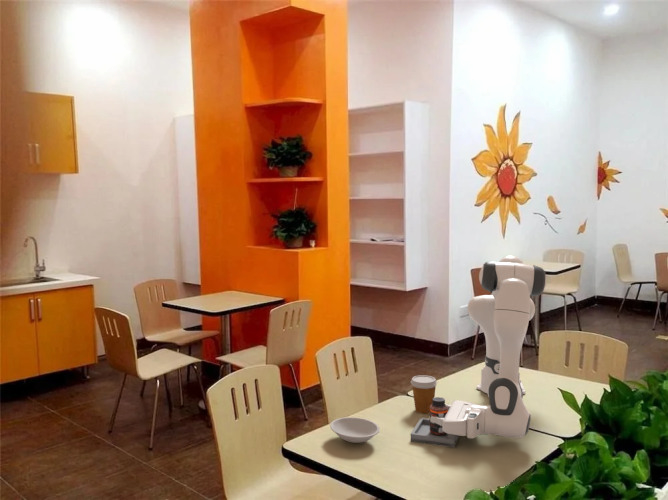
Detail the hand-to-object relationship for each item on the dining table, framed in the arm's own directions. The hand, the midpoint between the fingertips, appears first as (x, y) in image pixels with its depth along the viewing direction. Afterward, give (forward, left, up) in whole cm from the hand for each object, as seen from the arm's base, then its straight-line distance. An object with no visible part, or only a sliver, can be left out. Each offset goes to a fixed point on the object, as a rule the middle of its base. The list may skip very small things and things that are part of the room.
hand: (433, 413), depth 187 cm
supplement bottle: (0, +2, -7) cm, 7 cm away
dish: (+13, -23, -8) cm, 28 cm away
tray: (0, +1, -7) cm, 8 cm away
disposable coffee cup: (-20, -8, -8) cm, 23 cm away
